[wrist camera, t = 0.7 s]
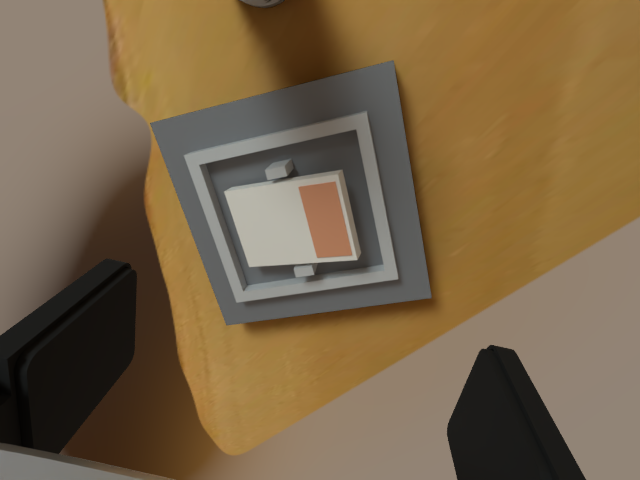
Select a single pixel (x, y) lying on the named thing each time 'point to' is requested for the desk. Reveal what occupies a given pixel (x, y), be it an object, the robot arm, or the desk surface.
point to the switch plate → (293, 161)
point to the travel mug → (262, 3)
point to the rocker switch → (295, 220)
